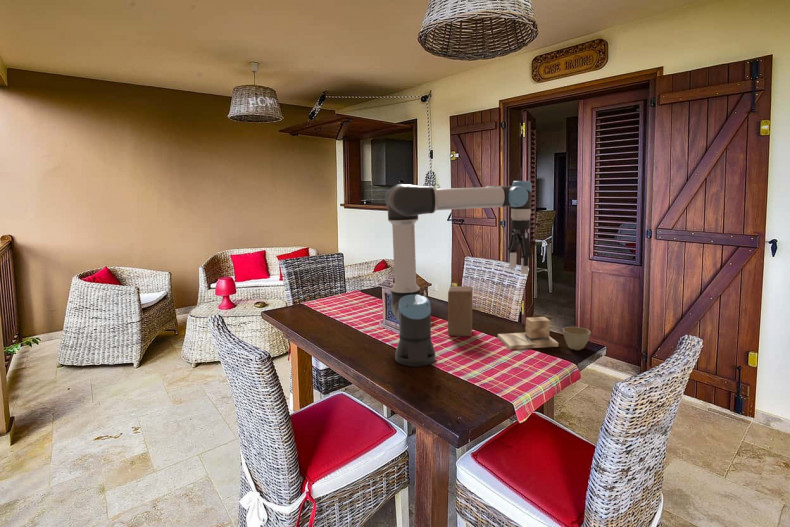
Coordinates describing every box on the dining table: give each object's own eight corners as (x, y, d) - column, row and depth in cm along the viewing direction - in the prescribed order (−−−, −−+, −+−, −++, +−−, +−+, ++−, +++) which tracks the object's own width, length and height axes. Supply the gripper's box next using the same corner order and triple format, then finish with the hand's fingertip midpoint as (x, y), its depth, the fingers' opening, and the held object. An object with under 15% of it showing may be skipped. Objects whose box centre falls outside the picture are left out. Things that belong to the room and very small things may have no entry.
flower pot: (577, 354, 168) (578, 336, 167) (556, 346, 177) (557, 329, 175) (595, 349, 172) (596, 331, 171) (574, 341, 181) (575, 325, 180)
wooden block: (471, 337, 189) (471, 291, 185) (447, 336, 191) (447, 290, 187) (472, 329, 199) (472, 286, 195) (449, 328, 201) (449, 285, 197)
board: (509, 349, 174) (509, 345, 174) (497, 337, 188) (497, 334, 188) (558, 346, 176) (558, 342, 176) (542, 334, 190) (543, 331, 190)
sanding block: (530, 340, 179) (530, 321, 178) (525, 336, 184) (525, 317, 183) (549, 339, 180) (549, 320, 179) (543, 335, 185) (544, 316, 184)
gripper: (542, 221, 168) (539, 276, 172) (518, 217, 193) (516, 265, 197) (522, 221, 168) (520, 276, 172) (501, 217, 192) (500, 265, 196)
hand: (518, 270), depth 184 cm, fingers open, 13 cm apart
